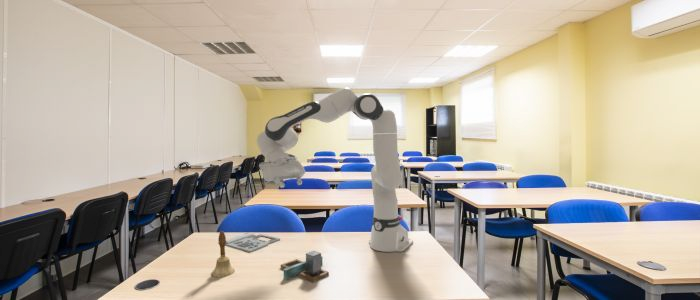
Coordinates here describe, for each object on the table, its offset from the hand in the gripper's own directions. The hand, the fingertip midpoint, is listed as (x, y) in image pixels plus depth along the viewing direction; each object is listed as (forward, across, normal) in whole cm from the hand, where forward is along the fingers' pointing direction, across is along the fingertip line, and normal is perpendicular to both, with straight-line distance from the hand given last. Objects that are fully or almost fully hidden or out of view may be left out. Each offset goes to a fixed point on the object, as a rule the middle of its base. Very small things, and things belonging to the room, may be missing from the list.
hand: (291, 185), depth 138 cm
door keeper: (+33, -7, +11) cm, 35 cm away
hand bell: (+17, -28, +27) cm, 42 cm away
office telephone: (0, -2, +44) cm, 44 cm away
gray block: (+37, -7, +7) cm, 38 cm away
